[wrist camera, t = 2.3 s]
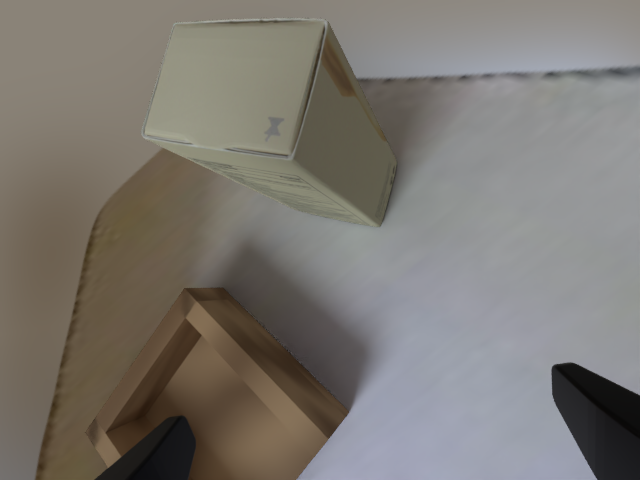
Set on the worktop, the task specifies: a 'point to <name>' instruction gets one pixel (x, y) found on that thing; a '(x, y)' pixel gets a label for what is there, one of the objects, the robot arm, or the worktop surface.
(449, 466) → the worktop surface
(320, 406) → the u rest
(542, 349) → the worktop surface
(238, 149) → the skincare box
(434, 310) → the worktop surface
